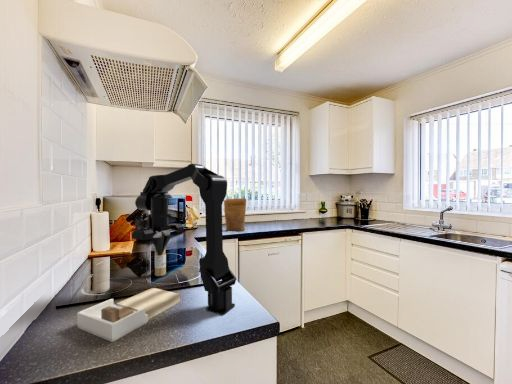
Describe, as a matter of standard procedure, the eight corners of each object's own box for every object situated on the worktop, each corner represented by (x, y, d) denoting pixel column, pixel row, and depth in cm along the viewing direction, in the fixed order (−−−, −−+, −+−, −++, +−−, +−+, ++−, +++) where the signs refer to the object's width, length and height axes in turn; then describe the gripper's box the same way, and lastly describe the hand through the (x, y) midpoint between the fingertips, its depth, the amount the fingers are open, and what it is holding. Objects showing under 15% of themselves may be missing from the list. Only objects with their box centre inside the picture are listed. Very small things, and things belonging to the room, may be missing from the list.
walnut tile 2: (133, 317, 69) (133, 310, 69) (120, 324, 65) (119, 316, 65) (123, 314, 71) (123, 307, 71) (110, 321, 67) (109, 313, 67)
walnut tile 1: (118, 308, 65) (111, 312, 64) (119, 324, 65) (111, 328, 64) (108, 306, 67) (101, 309, 65) (108, 321, 67) (101, 324, 65)
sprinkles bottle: (163, 272, 109) (162, 241, 109) (168, 274, 106) (167, 242, 106) (152, 274, 105) (152, 242, 105) (157, 277, 102) (157, 244, 102)
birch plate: (180, 301, 80) (179, 294, 80) (145, 321, 68) (145, 312, 68) (153, 295, 85) (153, 287, 85) (116, 311, 73) (116, 303, 73)
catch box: (148, 322, 68) (147, 307, 68) (112, 342, 59) (112, 325, 59) (114, 311, 74) (114, 297, 74) (77, 327, 65) (77, 312, 65)
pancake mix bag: (247, 231, 213) (246, 198, 213) (224, 232, 211) (223, 198, 210) (246, 230, 219) (246, 198, 219) (224, 230, 217) (224, 198, 217)
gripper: (162, 208, 102) (163, 247, 102) (120, 212, 85) (120, 258, 85) (184, 209, 97) (184, 250, 97) (143, 214, 80) (144, 263, 80)
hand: (159, 255), depth 90 cm, fingers closed
